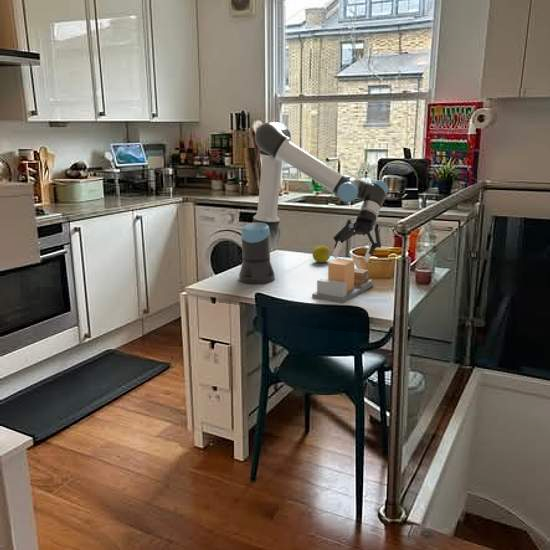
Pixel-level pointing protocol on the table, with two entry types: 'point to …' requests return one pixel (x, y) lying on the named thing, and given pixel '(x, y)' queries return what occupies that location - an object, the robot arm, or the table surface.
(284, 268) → the table surface
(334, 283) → the vise
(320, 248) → the lemon
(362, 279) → the block
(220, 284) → the table surface
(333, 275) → the block
